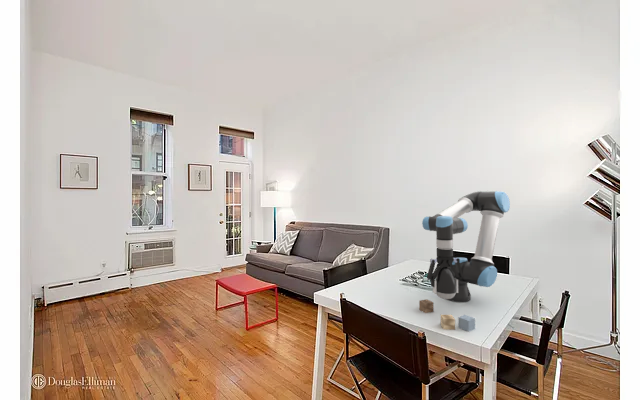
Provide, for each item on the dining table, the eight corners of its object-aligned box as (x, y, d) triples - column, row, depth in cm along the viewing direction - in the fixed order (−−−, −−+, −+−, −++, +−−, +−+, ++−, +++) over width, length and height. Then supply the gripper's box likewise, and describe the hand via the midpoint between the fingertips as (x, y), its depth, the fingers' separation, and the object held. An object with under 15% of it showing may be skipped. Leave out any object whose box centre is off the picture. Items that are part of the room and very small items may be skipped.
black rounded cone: (451, 293, 161) (450, 263, 160) (460, 300, 150) (460, 269, 150) (431, 294, 161) (430, 264, 160) (439, 301, 150) (439, 270, 149)
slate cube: (464, 325, 148) (464, 314, 148) (474, 329, 144) (474, 318, 144) (458, 327, 146) (458, 317, 146) (468, 331, 142) (468, 320, 141)
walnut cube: (427, 308, 170) (427, 299, 169) (433, 311, 165) (433, 302, 165) (419, 309, 168) (419, 300, 168) (425, 313, 163) (425, 303, 163)
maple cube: (451, 325, 149) (451, 314, 149) (455, 329, 144) (454, 319, 144) (440, 324, 149) (440, 314, 149) (443, 329, 144) (443, 318, 144)
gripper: (463, 245, 159) (463, 288, 160) (419, 247, 157) (420, 291, 158) (471, 248, 151) (471, 293, 152) (425, 250, 150) (425, 296, 151)
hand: (445, 292), depth 155 cm, fingers closed on black rounded cone, 10 cm apart
